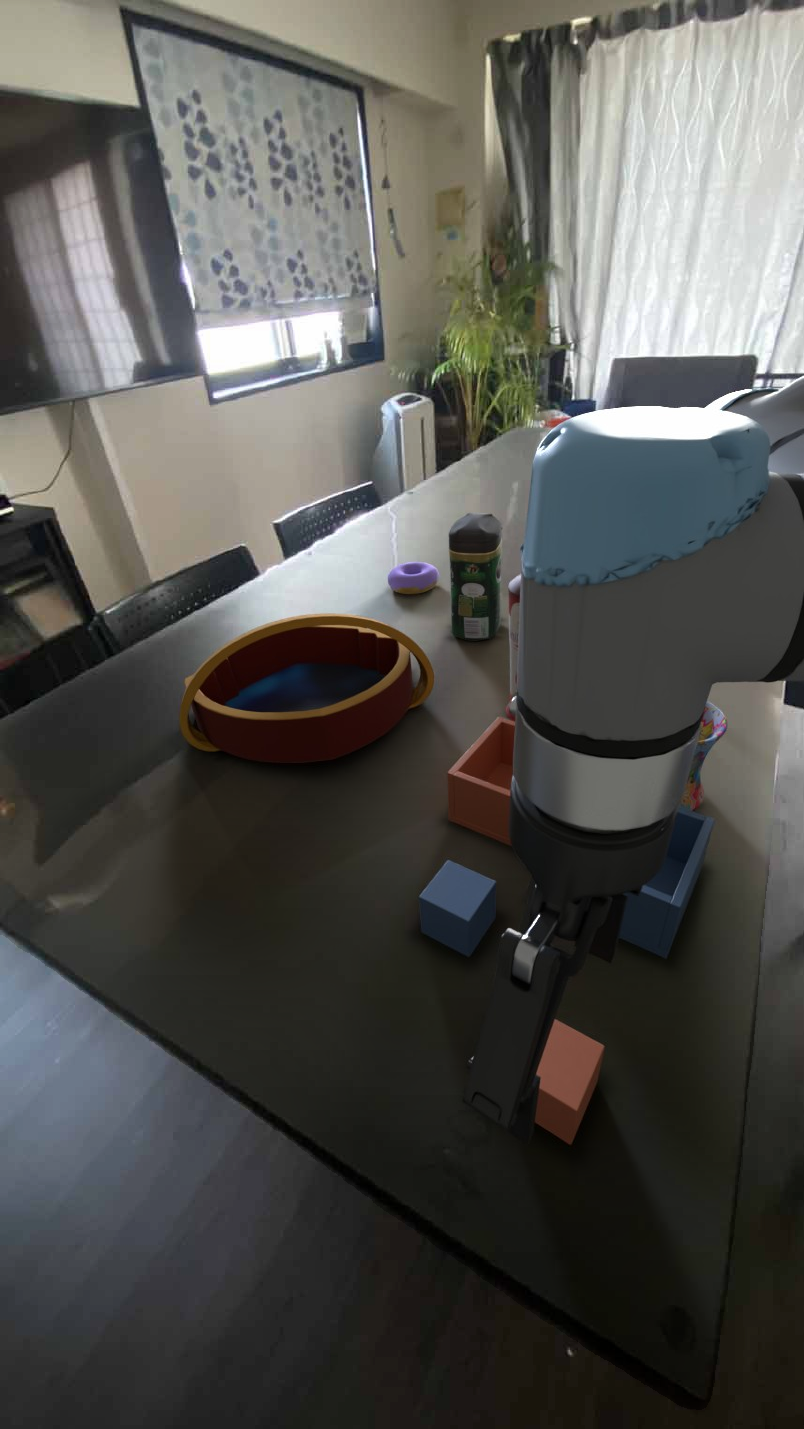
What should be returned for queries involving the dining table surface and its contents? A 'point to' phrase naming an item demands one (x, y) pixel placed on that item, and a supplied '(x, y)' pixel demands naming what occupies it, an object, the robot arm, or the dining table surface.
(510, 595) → the liquor
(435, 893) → the slate block
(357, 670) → the decorative basket
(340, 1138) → the dining table surface
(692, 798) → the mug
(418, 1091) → the dining table surface
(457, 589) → the coffee jar
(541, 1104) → the terracotta block
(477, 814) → the terracotta bin
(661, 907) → the slate bin
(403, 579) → the donut
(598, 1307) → the dining table surface
